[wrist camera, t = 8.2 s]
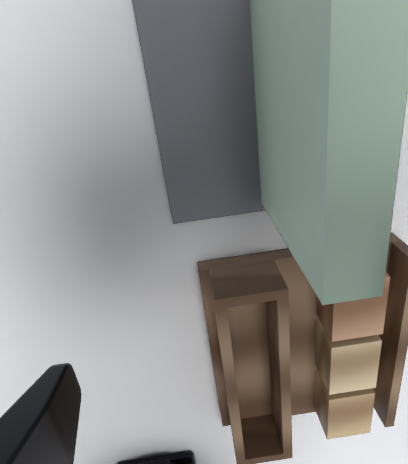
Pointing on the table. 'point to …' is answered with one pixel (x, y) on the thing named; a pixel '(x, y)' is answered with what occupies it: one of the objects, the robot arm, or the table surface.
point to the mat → (203, 104)
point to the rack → (284, 345)
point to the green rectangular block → (331, 133)
